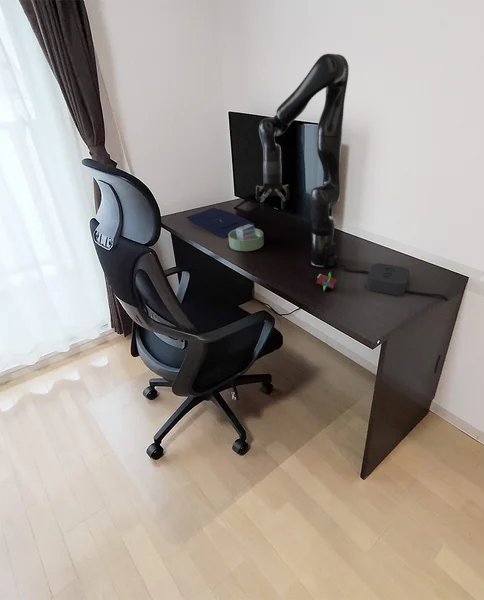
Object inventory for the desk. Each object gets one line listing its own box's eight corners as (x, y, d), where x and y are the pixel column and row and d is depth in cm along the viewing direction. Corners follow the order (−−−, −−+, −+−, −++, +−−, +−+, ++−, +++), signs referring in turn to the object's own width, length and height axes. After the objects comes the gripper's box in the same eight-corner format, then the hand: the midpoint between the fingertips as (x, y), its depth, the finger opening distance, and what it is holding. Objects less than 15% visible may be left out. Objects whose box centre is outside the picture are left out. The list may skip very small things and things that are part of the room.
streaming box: (372, 273, 151) (374, 262, 148) (408, 280, 147) (410, 268, 144) (364, 290, 140) (366, 278, 137) (403, 297, 135) (405, 285, 133)
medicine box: (244, 247, 171) (242, 230, 166) (237, 245, 173) (235, 228, 169) (255, 242, 176) (254, 225, 172) (249, 240, 179) (247, 223, 174)
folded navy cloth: (216, 211, 212) (216, 205, 210) (255, 228, 199) (256, 222, 197) (182, 223, 195) (182, 216, 193) (222, 242, 182) (222, 236, 180)
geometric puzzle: (339, 279, 142) (328, 264, 139) (341, 288, 136) (329, 272, 133) (324, 289, 144) (312, 274, 141) (325, 298, 138) (313, 283, 135)
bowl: (270, 244, 176) (270, 233, 173) (245, 254, 165) (244, 243, 162) (247, 235, 185) (247, 225, 182) (222, 245, 174) (221, 234, 171)
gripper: (255, 173, 147) (257, 213, 156) (291, 173, 150) (290, 211, 158) (254, 169, 153) (255, 207, 162) (287, 168, 156) (287, 206, 164)
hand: (272, 209), depth 160 cm, fingers open, 8 cm apart
